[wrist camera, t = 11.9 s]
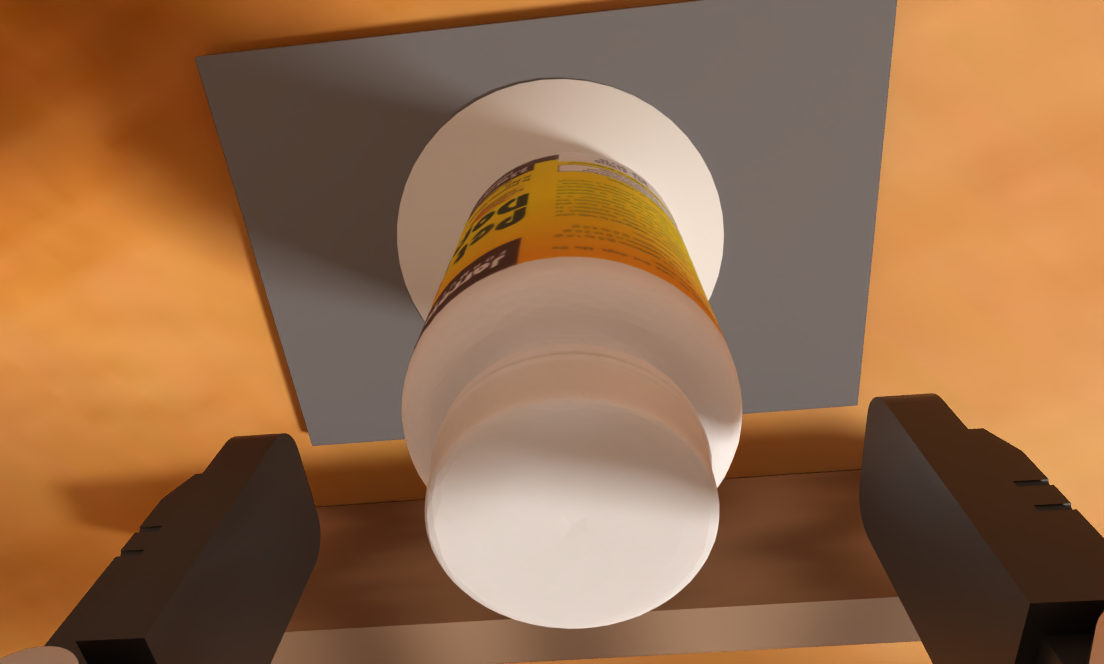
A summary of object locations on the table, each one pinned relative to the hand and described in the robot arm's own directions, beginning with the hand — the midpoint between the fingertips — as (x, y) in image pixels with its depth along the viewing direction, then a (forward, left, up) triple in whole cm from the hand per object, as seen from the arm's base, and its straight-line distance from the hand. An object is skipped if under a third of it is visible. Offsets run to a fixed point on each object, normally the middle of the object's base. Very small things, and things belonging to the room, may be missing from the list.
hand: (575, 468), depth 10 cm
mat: (0, 0, -10) cm, 10 cm away
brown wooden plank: (0, +9, -10) cm, 13 cm away
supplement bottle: (0, 0, -10) cm, 10 cm away
